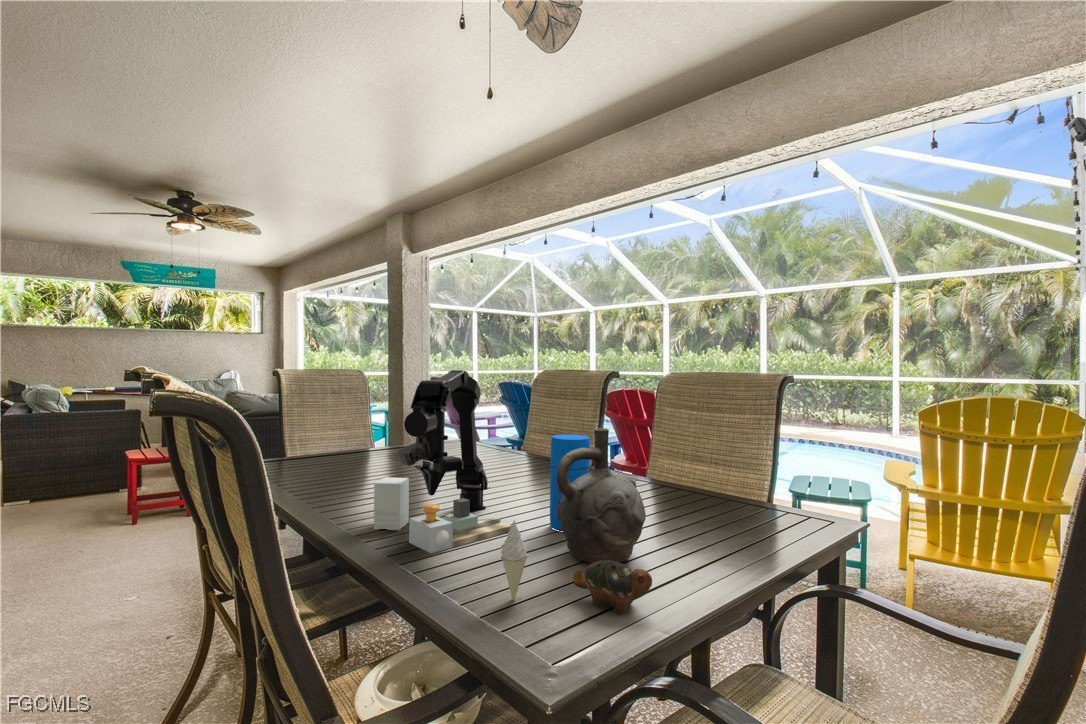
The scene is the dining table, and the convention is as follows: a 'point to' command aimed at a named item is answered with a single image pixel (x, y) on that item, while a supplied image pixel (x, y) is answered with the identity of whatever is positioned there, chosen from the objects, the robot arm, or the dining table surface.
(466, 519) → the carriage
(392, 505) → the supplement box
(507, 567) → the ice cream cone
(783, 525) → the dining table surface
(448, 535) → the gauge cabinet
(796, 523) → the dining table surface
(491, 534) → the rail board
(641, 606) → the dining table surface
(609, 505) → the vessel
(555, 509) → the thermos
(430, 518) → the button
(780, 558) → the dining table surface
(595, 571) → the decorative turtle
